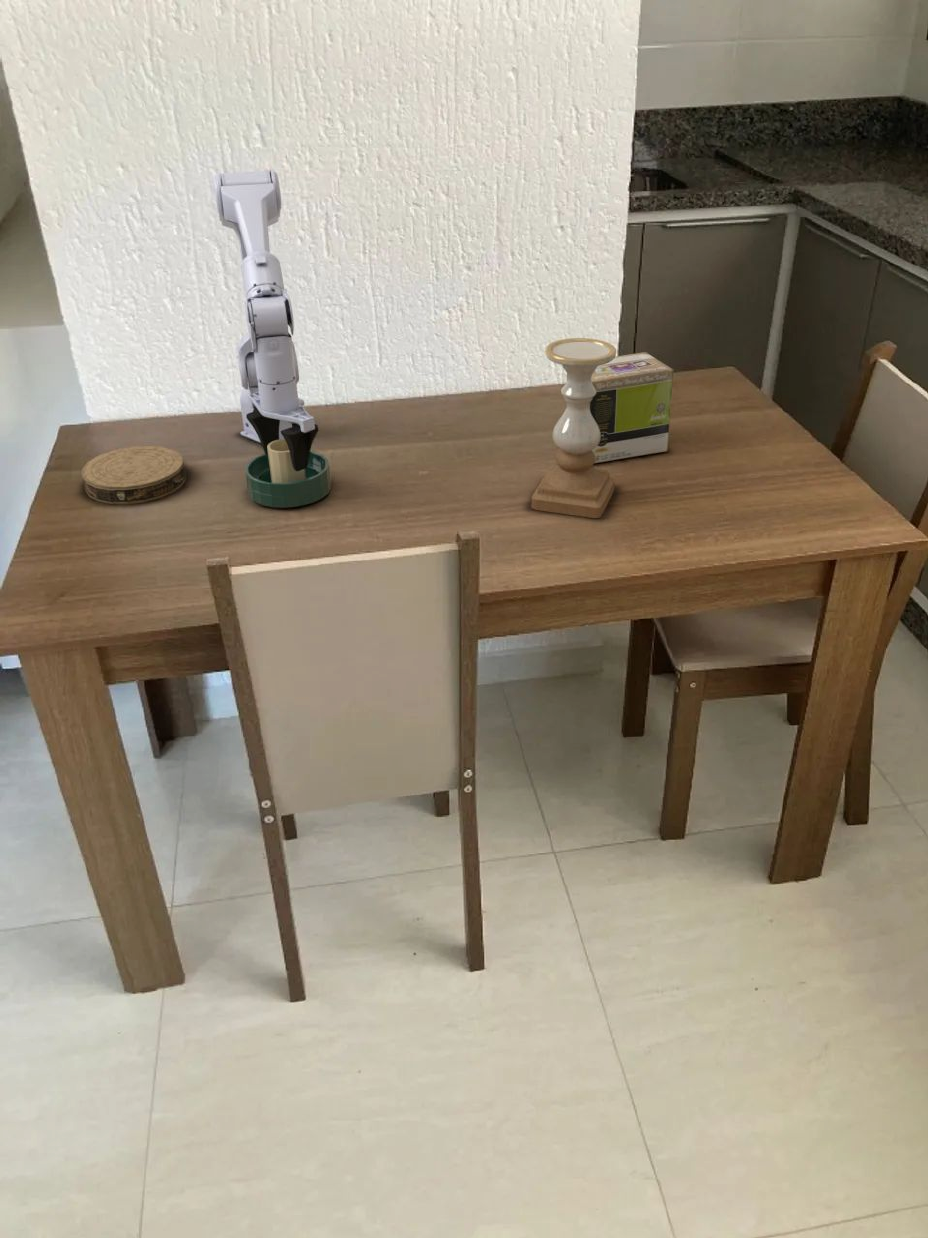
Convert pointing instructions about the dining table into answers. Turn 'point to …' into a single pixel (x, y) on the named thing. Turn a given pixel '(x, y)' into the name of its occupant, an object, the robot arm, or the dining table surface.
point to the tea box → (631, 406)
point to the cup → (282, 463)
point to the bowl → (289, 492)
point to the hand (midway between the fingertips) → (286, 461)
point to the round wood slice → (134, 475)
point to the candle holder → (576, 435)
